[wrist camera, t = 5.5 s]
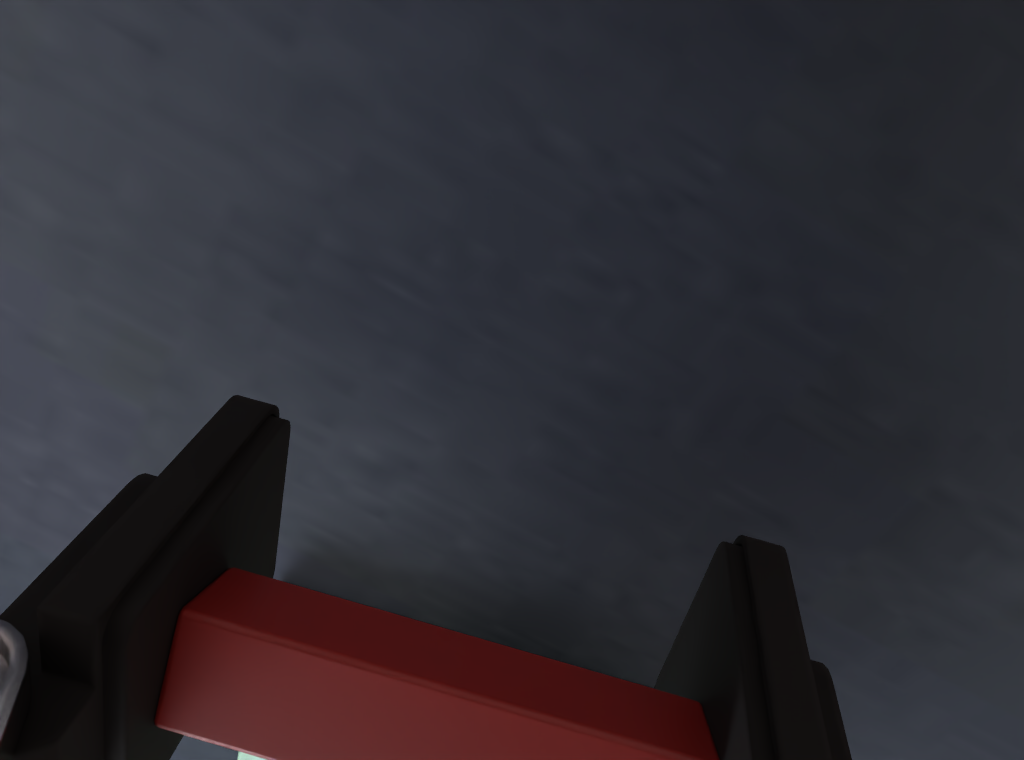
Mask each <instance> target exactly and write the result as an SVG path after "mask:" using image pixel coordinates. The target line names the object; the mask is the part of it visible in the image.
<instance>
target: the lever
mask: <svg viewBox="0 0 1024 760" xmlns="http://www.w3.org/2000/svg"><path fill="white" fill-rule="evenodd" d="M154 723H155V725H156V726H157V727H158V728H161V729H165V730H168V731H172V732H175V733H178V734H182V735H185V736H189V737H192V738H195V739H199V740H202V741H206V742H209V743H212V744H216V745H219V746H223V747H226V748H229V749H233V750H236V751H240V752H243V753H246V754H250V755H253V756H256V757H260V758H263V759H267V760H720V759H719V756H718V753H717V750H716V747H715V744H714V741H713V738H712V735H711V732H710V729H709V726H708V723H707V720H706V717H705V714H704V711H703V708H702V705H701V704H700V703H699V702H698V701H695V700H692V699H688V698H685V697H681V696H678V695H674V694H671V693H667V692H664V691H660V690H657V689H654V688H650V687H647V686H643V685H640V684H636V683H633V682H629V681H626V680H622V679H619V678H615V677H612V676H608V675H605V674H602V673H598V672H595V671H591V670H588V669H584V668H581V667H577V666H574V665H570V664H567V663H563V662H560V661H557V660H553V659H550V658H546V657H543V656H539V655H536V654H532V653H529V652H525V651H522V650H518V649H515V648H512V647H508V646H505V645H501V644H498V643H494V642H491V641H487V640H484V639H480V638H477V637H473V636H470V635H466V634H463V633H460V632H456V631H453V630H449V629H446V628H442V627H439V626H435V625H432V624H428V623H425V622H421V621H418V620H415V619H411V618H408V617H404V616H401V615H397V614H394V613H390V612H387V611H383V610H380V609H376V608H373V607H369V606H366V605H363V604H359V603H356V602H352V601H349V600H345V599H342V598H338V597H335V596H331V595H328V594H324V593H321V592H318V591H314V590H311V589H307V588H304V587H300V586H297V585H293V584H290V583H286V582H283V581H279V580H276V579H273V578H269V577H266V576H262V575H259V574H255V573H252V572H248V571H245V570H241V569H238V568H228V569H227V570H226V571H225V572H223V573H222V574H221V575H220V576H219V577H218V578H216V579H215V580H214V581H213V582H212V583H211V584H210V585H208V586H207V587H206V588H205V589H204V590H203V591H201V592H200V593H199V594H198V595H197V596H196V597H194V598H193V599H192V600H191V601H190V602H189V603H188V604H186V605H185V606H184V607H183V608H182V609H181V610H180V612H179V614H178V618H177V623H176V627H175V632H174V636H173V640H172V645H171V649H170V653H169V658H168V662H167V666H166V671H165V675H164V679H163V684H162V688H161V693H160V697H159V701H158V706H157V710H156V714H155V719H154Z"/></svg>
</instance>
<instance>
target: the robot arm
mask: <svg viewBox="0 0 1024 760" xmlns="http://www.w3.org/2000/svg"><path fill="white" fill-rule="evenodd" d="M289 438H290V422H289V421H288V420H285V419H281V418H279V409H278V407H277V406H275V405H272V404H268V403H264V402H261V401H257V400H253V399H250V398H246V397H243V396H239V395H234V396H233V397H231V398H230V399H229V400H228V401H227V402H226V403H225V404H224V406H223V407H222V408H221V409H220V410H219V411H218V412H217V413H216V414H215V415H214V416H213V417H212V419H211V420H210V421H209V422H208V423H207V424H206V425H205V426H204V427H203V428H202V429H201V430H200V432H199V433H198V434H197V435H196V436H195V437H194V438H193V439H192V440H191V441H190V442H189V443H188V444H187V446H186V447H185V448H184V449H183V450H182V451H181V452H180V453H179V454H178V455H177V456H176V457H175V459H174V460H173V461H172V462H171V463H170V464H169V465H168V466H167V467H166V468H165V469H164V470H163V472H162V473H161V474H160V475H159V476H158V477H157V476H153V475H150V474H146V473H145V474H141V475H138V476H137V477H135V478H134V479H133V480H132V481H130V482H129V483H128V484H127V485H126V486H125V487H124V488H123V489H122V490H121V491H120V492H119V493H118V495H117V496H116V497H115V498H114V499H113V500H112V501H111V502H110V503H109V504H108V505H107V506H106V507H105V508H104V509H103V510H102V511H101V512H100V513H99V514H98V515H97V516H96V517H95V518H94V519H93V520H92V521H91V522H90V523H89V524H88V526H87V527H86V528H85V529H84V530H83V531H82V532H81V533H80V534H79V535H78V536H77V537H76V538H75V539H74V540H73V541H72V542H71V543H70V544H69V545H68V546H67V547H66V548H65V549H64V550H63V551H62V552H61V553H60V554H59V555H58V557H57V558H56V559H55V560H54V561H53V562H52V563H51V564H50V565H49V566H48V567H47V568H46V569H45V570H44V571H43V572H42V573H41V574H40V575H39V576H38V577H37V578H36V579H35V580H34V581H33V582H32V583H31V584H30V585H29V586H28V588H27V589H26V590H25V591H24V592H23V593H22V594H21V595H20V596H19V597H18V598H17V599H16V600H15V601H14V602H13V603H12V604H11V605H10V606H9V607H8V608H7V609H6V610H5V611H4V612H3V613H2V614H1V615H0V760H169V759H170V758H171V756H172V754H173V753H174V751H175V749H176V747H177V746H178V744H179V742H180V741H181V739H182V737H183V736H184V735H182V734H178V733H175V732H172V731H168V730H165V729H161V728H158V727H157V726H156V725H155V723H154V719H155V714H156V710H157V706H158V701H159V697H160V693H161V688H162V684H163V679H164V675H165V671H166V666H167V662H168V658H169V653H170V649H171V645H172V640H173V636H174V632H175V627H176V623H177V618H178V614H179V612H180V610H181V609H182V608H183V607H184V606H185V605H186V604H188V603H189V602H190V601H191V600H192V599H193V598H194V597H196V596H197V595H198V594H199V593H200V592H201V591H203V590H204V589H205V588H206V587H207V586H208V585H210V584H211V583H212V582H213V581H214V580H215V579H216V578H218V577H219V576H220V575H221V574H222V573H223V572H225V571H226V570H227V569H228V568H238V569H241V570H245V571H248V572H252V573H255V574H259V575H262V576H266V577H269V578H273V575H274V570H275V562H276V553H277V545H278V536H279V527H280V518H281V509H282V500H283V491H284V482H285V473H286V464H287V456H288V447H289ZM655 689H657V690H660V691H664V692H667V693H671V694H674V695H678V696H681V697H685V698H688V699H692V700H695V701H698V702H699V703H700V704H701V705H702V708H703V711H704V714H705V717H706V720H707V723H708V726H709V729H710V732H711V735H712V738H713V741H714V744H715V747H716V750H717V753H718V756H719V759H720V760H852V758H851V754H850V750H849V746H848V742H847V738H846V734H845V730H844V725H843V721H842V717H841V713H840V709H839V705H838V701H837V697H836V693H835V689H834V685H833V681H832V678H831V675H830V672H829V670H828V668H827V667H826V666H825V665H824V664H823V663H820V662H817V661H813V660H810V657H809V652H808V648H807V643H806V639H805V634H804V629H803V625H802V620H801V616H800V611H799V607H798V602H797V598H796V593H795V589H794V584H793V580H792V575H791V571H790V566H789V561H788V557H787V553H786V550H785V548H784V547H782V546H780V545H776V544H772V543H769V542H765V541H762V540H758V539H755V538H751V537H747V536H744V535H740V536H738V537H737V538H736V540H735V541H734V543H733V544H731V543H728V542H721V543H720V544H719V546H718V548H717V549H716V551H715V554H714V556H713V558H712V560H711V562H710V565H709V567H708V569H707V571H706V573H705V576H704V578H703V580H702V582H701V584H700V587H699V589H698V591H697V593H696V595H695V597H694V600H693V602H692V604H691V606H690V608H689V611H688V613H687V615H686V617H685V619H684V622H683V624H682V626H681V628H680V630H679V633H678V635H677V637H676V639H675V641H674V643H673V646H672V648H671V650H670V652H669V654H668V657H667V659H666V661H665V663H664V665H663V668H662V670H661V672H660V674H659V676H658V679H657V682H656V685H655Z"/></svg>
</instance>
